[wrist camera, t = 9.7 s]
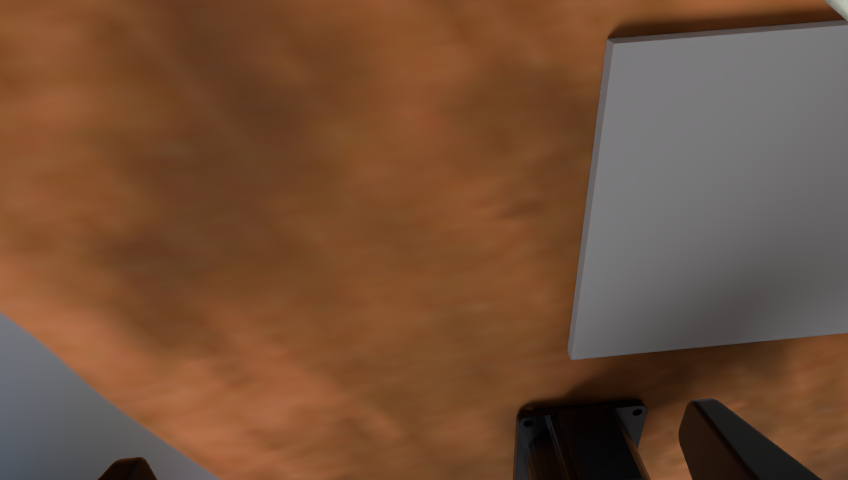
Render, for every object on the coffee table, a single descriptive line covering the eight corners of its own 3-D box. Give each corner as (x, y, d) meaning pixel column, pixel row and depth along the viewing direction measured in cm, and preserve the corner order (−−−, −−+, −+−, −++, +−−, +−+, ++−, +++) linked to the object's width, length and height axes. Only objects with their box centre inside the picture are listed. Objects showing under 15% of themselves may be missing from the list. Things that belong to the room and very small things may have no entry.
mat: (861, 321, 26) (870, 330, 26) (567, 350, 26) (571, 360, 25) (1027, 5, 18) (1046, 8, 18) (606, 38, 18) (613, 43, 17)
